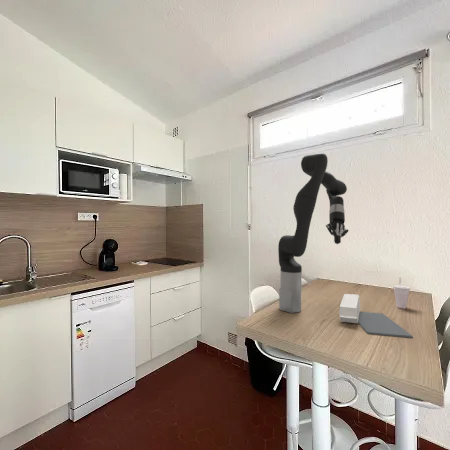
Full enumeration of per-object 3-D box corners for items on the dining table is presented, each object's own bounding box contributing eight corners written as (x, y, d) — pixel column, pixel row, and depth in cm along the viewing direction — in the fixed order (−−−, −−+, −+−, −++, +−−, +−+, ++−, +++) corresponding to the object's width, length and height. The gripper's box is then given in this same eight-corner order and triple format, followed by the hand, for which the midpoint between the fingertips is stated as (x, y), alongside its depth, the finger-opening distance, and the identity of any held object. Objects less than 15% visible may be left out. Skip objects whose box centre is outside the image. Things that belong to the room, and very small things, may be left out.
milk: (360, 307, 107) (357, 327, 89) (345, 306, 111) (339, 325, 92) (359, 294, 107) (356, 310, 89) (344, 293, 111) (338, 309, 92)
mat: (412, 337, 81) (412, 336, 81) (367, 333, 84) (367, 332, 84) (382, 314, 103) (382, 313, 103) (347, 312, 105) (347, 310, 105)
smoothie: (393, 304, 117) (393, 275, 118) (410, 307, 113) (410, 277, 114) (392, 307, 113) (392, 277, 113) (409, 310, 108) (409, 279, 109)
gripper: (331, 207, 126) (331, 237, 119) (352, 215, 129) (353, 244, 121) (321, 213, 133) (321, 242, 125) (342, 220, 135) (343, 248, 128)
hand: (337, 243), depth 123 cm, fingers closed
